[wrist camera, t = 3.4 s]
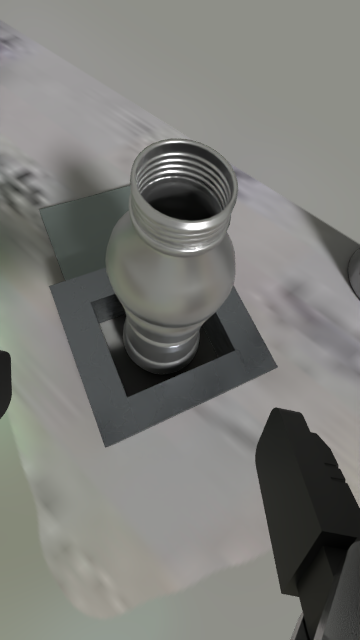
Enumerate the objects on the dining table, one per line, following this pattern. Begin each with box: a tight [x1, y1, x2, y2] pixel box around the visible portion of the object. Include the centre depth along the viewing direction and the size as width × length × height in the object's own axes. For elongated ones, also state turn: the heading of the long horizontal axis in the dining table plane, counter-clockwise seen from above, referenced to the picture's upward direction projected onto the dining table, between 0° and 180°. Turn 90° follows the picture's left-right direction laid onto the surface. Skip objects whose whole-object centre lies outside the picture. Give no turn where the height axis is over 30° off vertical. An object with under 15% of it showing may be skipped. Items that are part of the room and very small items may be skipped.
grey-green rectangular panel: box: [39, 186, 131, 281], centre depth 32 cm, size 14×9×1 cm, turn 114°
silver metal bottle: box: [105, 139, 238, 374], centre depth 19 cm, size 6×7×20 cm
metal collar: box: [49, 268, 278, 448], centre depth 26 cm, size 14×13×5 cm
